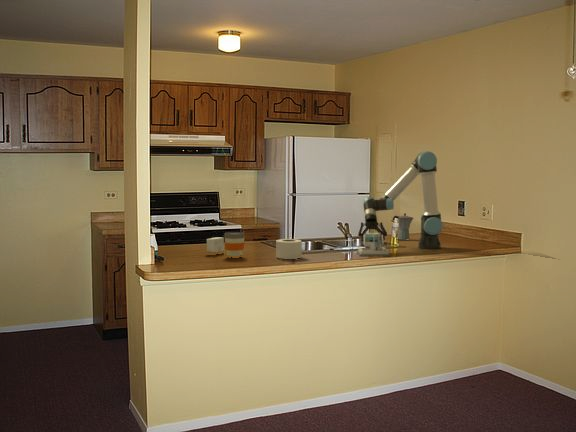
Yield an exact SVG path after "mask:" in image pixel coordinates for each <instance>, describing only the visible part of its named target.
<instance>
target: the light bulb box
mask: <svg viewBox="0 0 576 432" xmlns="http://www.w3.org/2000/svg"><path fill="white" fill-rule="evenodd" d="M364 247H365V251H378V250H381V247H382V241H381V233H378V232H374V231H373V232H368V233H367V232H366V233H365V246H364Z"/></svg>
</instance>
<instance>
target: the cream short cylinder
mask: <svg viewBox="0 0 576 432" xmlns="http://www.w3.org/2000/svg"><path fill="white" fill-rule="evenodd" d="M275 241H276V244H275V248H276V249H275V258H276V257H278V258H284V259H296V260H298V259H297V258H301V257H302V253H303V252H302V250H303V249H302V246H303V245H302V244H303V243H302V240H300V239H293V238H284V239H282V238H281V239H276V240H275ZM301 259H302V258H301Z"/></svg>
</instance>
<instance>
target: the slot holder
mask: <svg viewBox="0 0 576 432" xmlns="http://www.w3.org/2000/svg"><path fill="white" fill-rule="evenodd" d="M356 253H357V254H358V256H359V257H391V254H390V251H389V250H388V249H387V248H386V247H383V246H381V250H378V251H365V246H364V247H357V250H356Z"/></svg>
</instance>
